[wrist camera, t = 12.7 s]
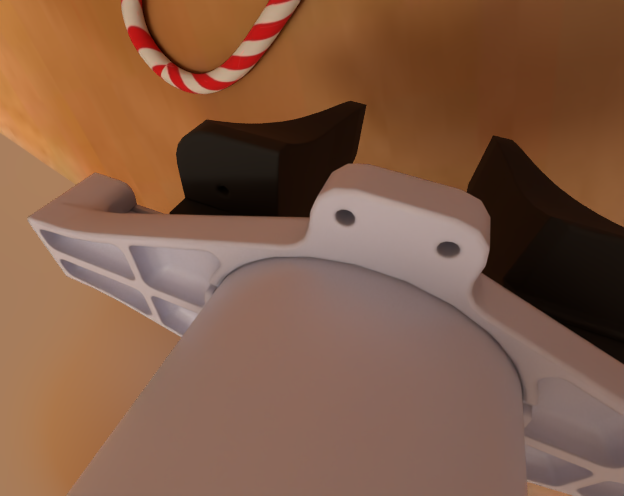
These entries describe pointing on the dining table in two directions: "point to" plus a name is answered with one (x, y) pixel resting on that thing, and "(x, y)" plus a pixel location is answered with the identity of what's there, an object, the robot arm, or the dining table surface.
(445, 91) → the dining table surface
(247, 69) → the candy cane
